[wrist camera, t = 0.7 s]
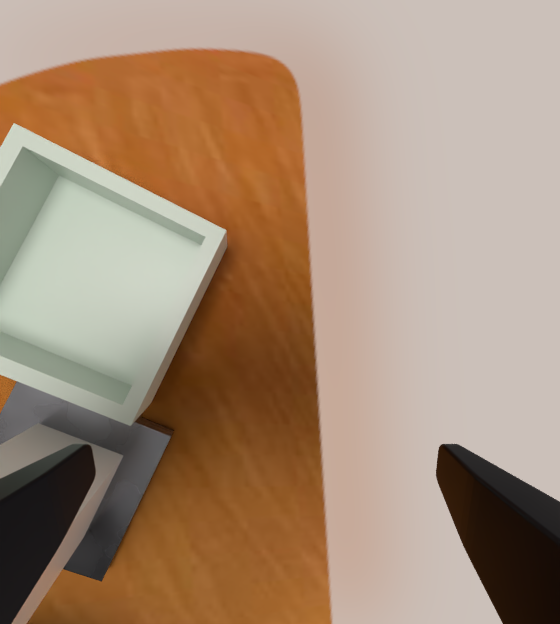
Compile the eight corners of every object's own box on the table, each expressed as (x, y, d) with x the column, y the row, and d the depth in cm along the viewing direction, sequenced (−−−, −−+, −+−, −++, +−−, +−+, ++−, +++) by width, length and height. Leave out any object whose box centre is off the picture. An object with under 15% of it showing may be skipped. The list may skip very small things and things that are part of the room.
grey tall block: (83, 537, 18) (-60, 753, 9) (-5, 507, 17) (-253, 710, 8) (123, 455, 18) (22, 588, 10) (38, 423, 18) (-157, 533, 9)
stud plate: (108, 567, 19) (78, 629, 15) (-45, 517, 18) (-117, 571, 14) (174, 430, 20) (160, 457, 16) (31, 373, 19) (-21, 388, 15)
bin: (151, 403, 20) (130, 426, 16) (-31, 329, 18) (-104, 333, 14) (227, 246, 20) (226, 230, 16) (59, 162, 19) (14, 122, 15)
